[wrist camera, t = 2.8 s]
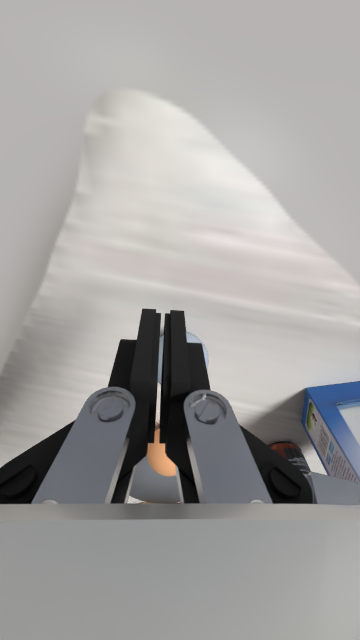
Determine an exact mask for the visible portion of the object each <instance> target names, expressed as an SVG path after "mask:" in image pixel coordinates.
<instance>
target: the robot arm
mask: <svg viewBox="0 0 360 640" xmlns="http://www.w3.org/2000/svg"><path fill="white" fill-rule="evenodd" d="M160 322H161V313H156V309H142V314H141V320H140V325H139V331H138V337H137V340H126V339H121V340H120V343H119V347H118V350H117V354H116V358H115V362H114V366H113V369H112V373H111V377H110V381H109V384H108V387H107V388H103V389H100V390H98V391H96V392H95V393H93V394H92V395H91V396H90V397H89V398H88V399H87V401H86V402H85V404H84V406H83V408H82V409H81V411H80V413H79V415H78V417H77V419H76V420H75V421H73V422H72V423H70V424H68V425H67V426H65V427H64V428H62V429H60V430H59V431H57V432H56V433H54V434H52V435H51V436H49V437H48V438H46V439H44V440H43V441H41V442H40V443H38V444H36V445H35V446H33V447H32V448H30V449H28V450H27V451H25V452H24V453H22V454H20V455H19V456H17V457H16V458H14V459H12V460H11V461H9V462H8V463H6V464H5V465H4V466H3V467H1V468H0V640H360V483H356V482H352V481H348V480H344V479H340V478H336V477H332V476H327V475H323V474H319V473H315V472H311V471H310V473H309V474H304V473H302V472H301V471H300V470H299V469H298V468H297V467H296V466H295V465H293V464H292V463H291V462H289V461H288V460H287V459H285V458H284V457H282V456H281V455H280V454H278V453H277V452H276V451H274V450H273V449H272V448H270V447H269V446H268V445H266V444H265V443H263V442H262V441H261V440H259V439H258V438H257V437H255V436H254V435H253V434H251V433H250V432H249V431H247V430H246V429H244V428H243V427H242V426H240V425H239V424H238V421H237V419H236V417H235V414H234V412H233V410H232V407H231V405H230V404H229V402H228V400H227V399H226V398H224V397H223V396H222V395H221V394H219V393H217V392H214V391H211V390H210V385H209V379H208V373H207V368H206V362H205V357H204V351H203V346H202V343H191V342H187V337H186V327H185V317H184V311H176V310H171V311H170V314H167V313H165V324H164V339H163V355H162V373H161V403H160V434H159V444H165V454H166V456H167V457H168V458H169V459H170V460H171V461H172V462H173V463H174V464H175V467H176V477H177V483H178V489H179V495H180V501H181V504H127V501H128V498H129V494H130V490H131V486H132V482H133V478H134V474H135V469H136V464H138V463H139V462H140V461H141V460H142V459H143V458H144V457H145V456H147V451H148V443H154V437H155V419H156V401H157V382H158V362H159V342H160Z"/></svg>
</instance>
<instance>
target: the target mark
mask: <svg viewBox="0 0 360 640" xmlns="http://www.w3.org/2000/svg"><path fill="white" fill-rule="evenodd" d="M129 495H130V496H131V497H133V498H136V499H138V500H141V501H145V502H151V503H176V502H181V501H180V495H179V489H178V483H177V477H176V475H175V476H163V475H161V474H158V473H157V472H156V471H154V470H153V468H152V467H151V466H150V464H149V462H148V459H147V456H145V457H144V458H143V459H142V460H141V461H140V462H139V463H138V464H136V469H135V474H134V478H133V482H132V486H131V490H130V494H129Z"/></svg>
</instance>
